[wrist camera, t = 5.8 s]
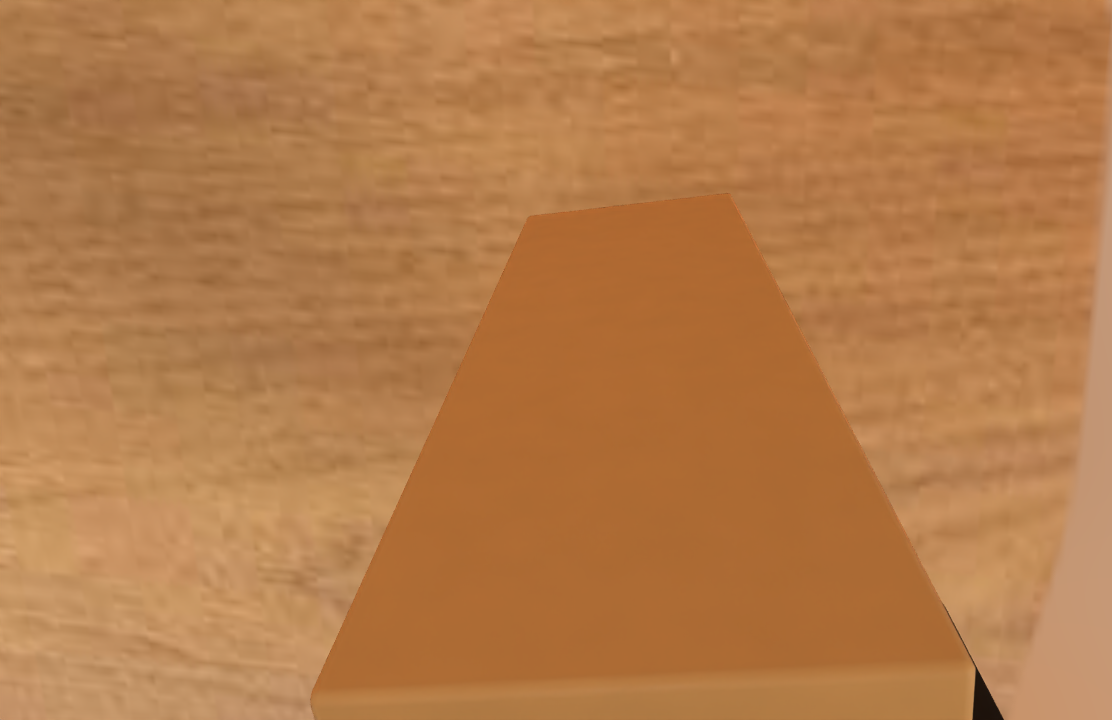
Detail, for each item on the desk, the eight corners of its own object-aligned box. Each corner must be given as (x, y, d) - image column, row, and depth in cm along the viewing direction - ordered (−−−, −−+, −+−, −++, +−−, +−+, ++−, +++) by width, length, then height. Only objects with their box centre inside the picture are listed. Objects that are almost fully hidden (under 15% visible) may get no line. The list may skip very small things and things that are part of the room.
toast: (731, 191, 10) (980, 665, 3) (760, 702, 13) (922, 1563, 6) (526, 215, 11) (304, 699, 3) (600, 709, 14) (568, 1538, 6)
